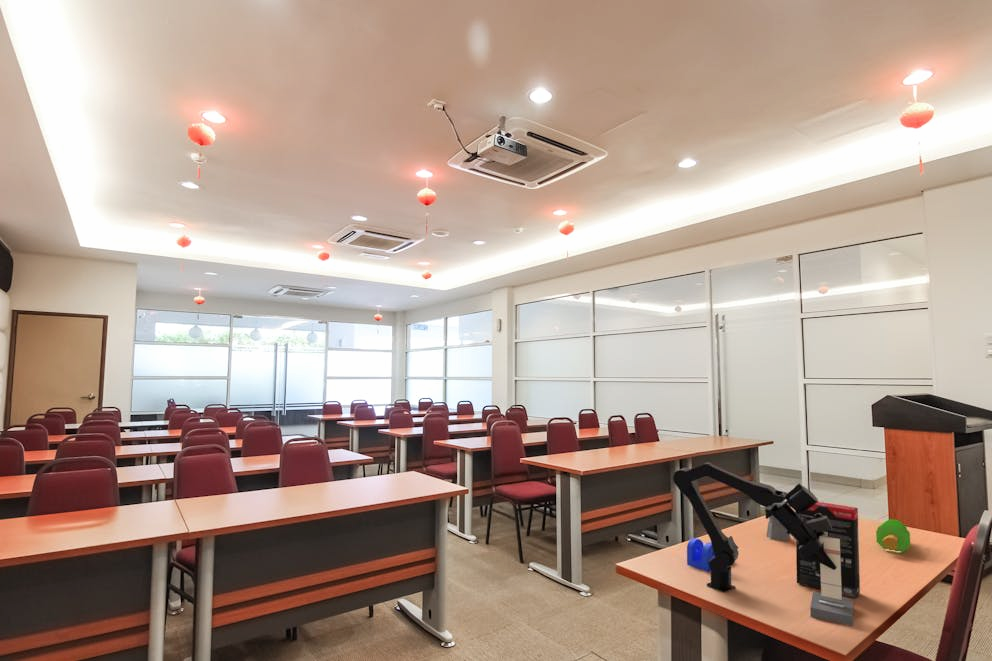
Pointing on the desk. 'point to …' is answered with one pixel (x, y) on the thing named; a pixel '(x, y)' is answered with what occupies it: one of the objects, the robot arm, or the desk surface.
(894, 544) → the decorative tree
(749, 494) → the robot arm
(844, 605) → the base
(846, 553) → the graphics card box
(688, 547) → the bracket
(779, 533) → the coffeepot
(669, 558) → the desk surface
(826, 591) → the strip
